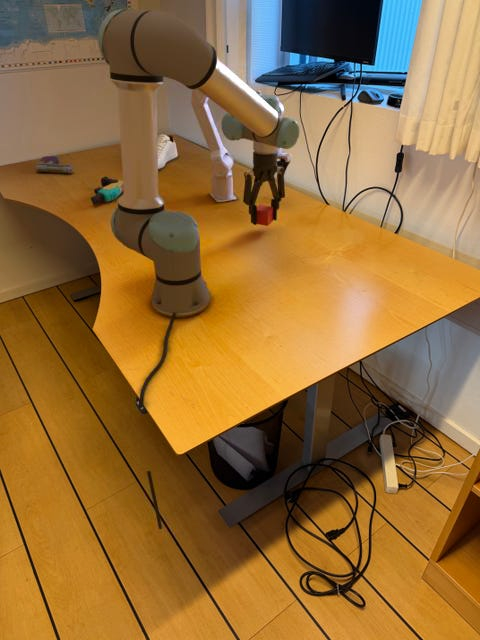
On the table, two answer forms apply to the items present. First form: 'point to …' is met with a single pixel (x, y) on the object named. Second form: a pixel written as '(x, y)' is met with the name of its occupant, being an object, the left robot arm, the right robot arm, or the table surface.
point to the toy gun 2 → (107, 190)
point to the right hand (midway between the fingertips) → (272, 177)
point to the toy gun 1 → (53, 165)
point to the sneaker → (166, 149)
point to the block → (264, 215)
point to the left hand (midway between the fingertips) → (263, 221)
